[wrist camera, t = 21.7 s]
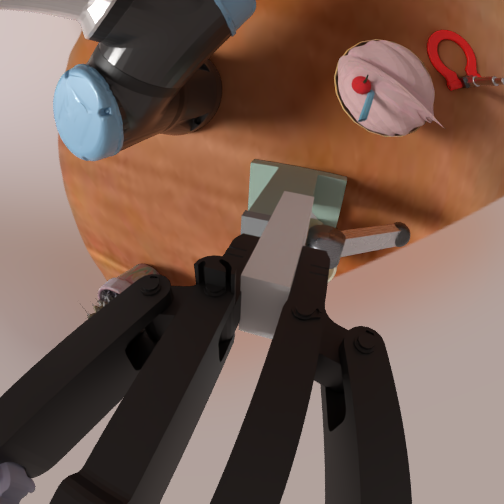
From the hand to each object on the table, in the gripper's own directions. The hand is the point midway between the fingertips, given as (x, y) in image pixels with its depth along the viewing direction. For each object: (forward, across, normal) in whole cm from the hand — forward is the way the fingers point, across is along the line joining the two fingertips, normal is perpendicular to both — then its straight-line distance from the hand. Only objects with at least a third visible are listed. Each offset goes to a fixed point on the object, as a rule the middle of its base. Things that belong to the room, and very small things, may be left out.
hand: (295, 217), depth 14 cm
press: (+29, -3, -15) cm, 33 cm away
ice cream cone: (+30, +6, +8) cm, 31 cm away
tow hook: (+30, +18, +17) cm, 39 cm away
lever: (+17, +6, -9) cm, 21 cm away
